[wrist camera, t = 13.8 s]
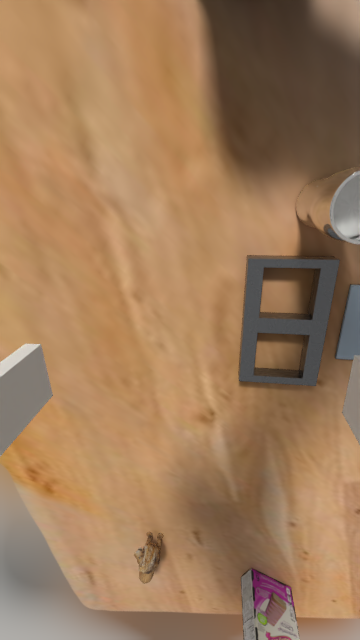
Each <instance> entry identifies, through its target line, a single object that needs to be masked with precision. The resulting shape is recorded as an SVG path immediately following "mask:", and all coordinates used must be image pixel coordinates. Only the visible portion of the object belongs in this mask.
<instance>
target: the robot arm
mask: <svg viewBox="0 0 360 640" xmlns="http://www.w3.org/2000/svg"><path fill="white" fill-rule="evenodd" d="M52 396H53V394H52V390H51V386H50V381H49V377H48V373H47V368H46V364H45V360H44V355H43V351H42V347H41V344H24V345H23V346H22V347H20V348H19V349H18V350H16V351H15V352H14V353H12V354H11V355H9V356H8V357H7V358H5V359H4V360H3V361H1V362H0V456H1V455H2V454H3V453H4V452H5V450H6V449H7V448H8V447H9V446H10V445H11V443H12V442H13V441H14V440H15V439H16V438H17V436H18V435H19V434H20V433H21V432H22V431H23V429H24V428H25V427H26V426H27V425H28V424H29V423H30V421H31V420H32V419H33V418H34V417H35V416H36V414H37V413H38V412H39V411H40V410H41V409H42V407H43V406H44V405H45V404H46V403H47V402H48V400H49V399H50V398H51V397H52ZM342 413H343V415H344V417H345V419H346V421H347V422H348V424H349V426H350V428H351V430H352V432H353V433H354V435H355V437H356V439H357V441H358V443H359V444H360V355H354V359H353V364H352V369H351V374H350V378H349V383H348V388H347V393H346V397H345V402H344V407H343V412H342Z"/></svg>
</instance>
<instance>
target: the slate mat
mask: <svg viewBox="0 0 360 640" xmlns="http://www.w3.org/2000/svg"><path fill="white" fill-rule="evenodd" d="M354 355H360V285H350V288H349V293H348V298H347V303H346V307H345V312H344V317H343V322H342V326H341V331H340V336H339V341H338V346H337V350H336V355H335V358H336V359H349V360H353V359H354Z"/></svg>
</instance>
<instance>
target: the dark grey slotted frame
mask: <svg viewBox="0 0 360 640" xmlns="http://www.w3.org/2000/svg"><path fill="white" fill-rule="evenodd" d="M339 261H340V260H339V259H337V258H335V257H329V256H259V255H247V264H246V277H245V291H244V304H243V318H242V331H241V345H240V358H239V372H238V374H239V381H248V382H263V383H278V384H293V385H309V386H316V382H317V377H318V372H319V367H320V361H321V356H322V351H323V345H324V340H325V335H326V330H327V324H328V319H329V314H330V309H331V303H332V298H333V293H334V288H335V282H336V277H337V272H338V267H339ZM264 267H271V268H315V273H314V279H313V286H312V292H311V298H310V304H309V310H308V314H294V313H268V312H260V302H261V292H262V281H263V271H264ZM257 333H276V334H298V335H304V341H303V348H302V354H301V360H300V366H299V370H286V369H269V368H254V364H255V354H256V343H257Z"/></svg>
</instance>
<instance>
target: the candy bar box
mask: <svg viewBox="0 0 360 640" xmlns="http://www.w3.org/2000/svg"><path fill="white" fill-rule="evenodd" d="M241 589H242V611H243V632H244V633H243V634H244V640H300V638H299V633H298V626H297V621H296V614H295V609H294V602H293V597H292V591H291V587H289V586H287V585H285V584H283V583H281V582H279V581H277V580H275V579H272V578H270V577H268V576H266V575H264V574H262V573H260V572H258V571H256V570H254V569H252V568H251V569H249V570H248V571H247V572H246V573H245V574H244V575H243V576H242V577H241Z"/></svg>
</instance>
